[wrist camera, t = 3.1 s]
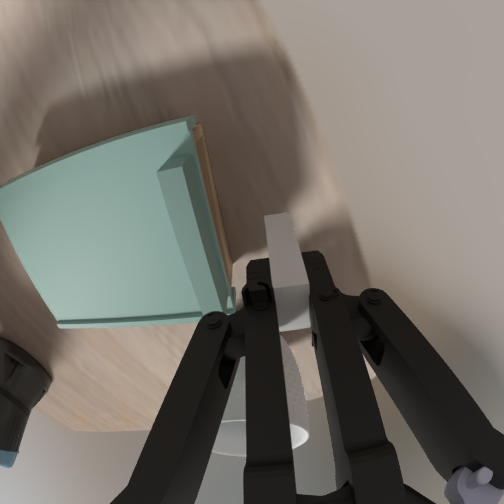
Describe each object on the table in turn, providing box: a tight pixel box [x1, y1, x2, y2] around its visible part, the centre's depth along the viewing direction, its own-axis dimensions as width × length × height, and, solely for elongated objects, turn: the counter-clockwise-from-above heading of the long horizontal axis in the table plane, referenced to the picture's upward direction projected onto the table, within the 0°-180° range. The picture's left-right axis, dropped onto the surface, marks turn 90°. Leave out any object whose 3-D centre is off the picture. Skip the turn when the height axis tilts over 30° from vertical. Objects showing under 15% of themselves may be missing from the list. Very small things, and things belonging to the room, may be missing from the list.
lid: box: [0, 115, 236, 328], centre depth 20 cm, size 18×15×5 cm
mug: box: [212, 334, 309, 456], centre depth 26 cm, size 15×11×13 cm
